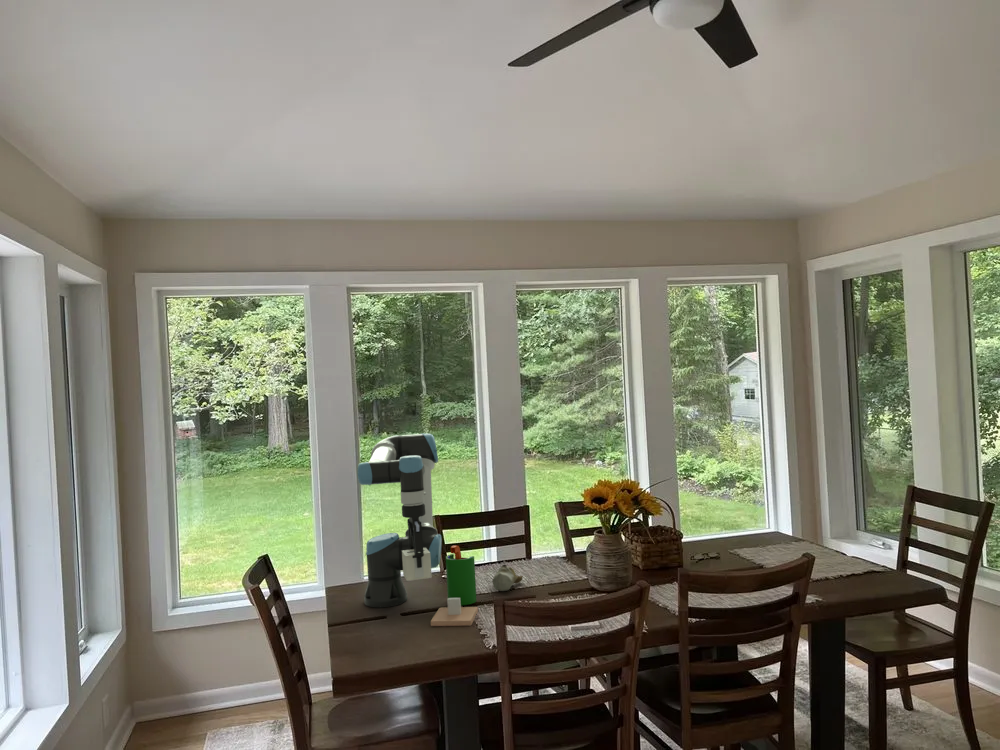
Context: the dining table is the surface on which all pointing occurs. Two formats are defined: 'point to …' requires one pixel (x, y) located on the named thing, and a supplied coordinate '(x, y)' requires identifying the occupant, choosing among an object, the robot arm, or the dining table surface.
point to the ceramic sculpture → (505, 578)
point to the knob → (410, 568)
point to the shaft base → (454, 614)
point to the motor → (461, 577)
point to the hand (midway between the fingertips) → (417, 574)
